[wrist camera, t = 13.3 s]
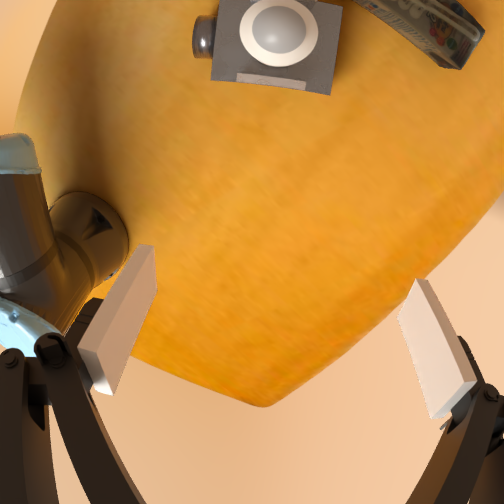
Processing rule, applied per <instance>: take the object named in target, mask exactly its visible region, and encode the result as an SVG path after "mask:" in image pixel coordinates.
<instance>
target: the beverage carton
mask: <svg viewBox="0 0 504 504" xmlns="http://www.w3.org/2000/svg"><path fill="white" fill-rule="evenodd" d="M353 1H354V2H356V3H358V4H359V5H361V6H362V7H364V8H365V9H367V10H368V11H370V12H371V13H373V14H374V15H375V16H377V17H378V18H380V19H381V20H383V21H384V22H385V23H387V24H388V25H389V26H391V27H392V28H393V29H395V30H396V31H397V32H399V33H400V34H401V35H403V36H404V37H405V38H406V39H408V40H409V41H410V42H411V43H413V44H414V45H415V46H416V47H418V48H419V49H420V50H421V51H423V52H424V53H425V54H426V55H428V56H429V57H430V58H431V59H432V60H433V61H434V62H436V63H437V64H438V65H439V66H440V67H443V68H448V69H458V70H461V69H462V68H463V66H464V65H465V63H466V62H467V60H468V59H469V57H470V55H471V53H472V52H473V50H474V49H475V47H476V46H477V44H478V42H479V41H480V40H481V38H482V37H483V35H484V33H485V30H484V29H483V28H482V26H481V25H480V24H479V23H478V22H477V21H476V20H475V19H474V17H473V16H472V15H471V14H469V13H468V12H467V10H466V9H465V8H464V7H463V6H462V5H461V4H460V3H459V2H458V1H456V0H353Z"/></svg>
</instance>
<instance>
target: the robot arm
mask: <svg viewBox="0 0 504 504" xmlns="http://www.w3.org/2000/svg"><path fill="white" fill-rule="evenodd" d="M41 172H42V170H41V168H40V167H39V164H38V160H37V156H36V152H35V147H34V143H33V141H32V139H31V138H30V137H29V136H28V135H26V134H23V133H13V134H6V135H1V136H0V344H1V345H3V346H4V347H5V348H7V349H6V350H5V351H3V352H2V353H1V355H0V504H59V500H58V495H57V489H56V483H55V476H54V469H53V462H52V452H51V441H50V427H49V408H48V407H49V406H48V405H52V407H53V411H54V414H55V417H56V420H57V423H58V426H59V429H60V432H61V435H62V438H63V440H64V443H65V446H66V449H67V451H68V454H69V456H70V459H71V461H72V464H73V466H74V468H75V471H76V473H77V476H78V478H79V480H80V482H81V485H82V487H83V489H84V491H85V493H86V495H87V497H88V499H89V501H90V503H91V504H146V502H145V501H144V499H143V498H142V496H141V494H140V493H139V491H138V489H137V487H136V486H135V484H134V483H133V481H132V479H131V477H130V476H129V474H128V472H127V470H126V468H125V466H124V464H123V462H122V461H121V459H120V457H119V455H118V453H117V451H116V449H115V447H114V445H113V443H112V441H111V439H110V437H109V435H108V433H107V430H106V428H105V426H104V424H103V421H102V419H101V417H100V415H99V412H98V410H97V408H96V405H95V403H94V400H93V398H92V395H91V393H90V389H91V387H92V385H94V387H95V389H96V391H98V392H101V393H105V394H109V395H113V396H114V393H115V391H116V388H117V386H118V383H119V381H120V378H121V376H122V373H123V370H124V368H125V365H126V363H127V360H128V358H129V356H130V353H131V351H132V348H133V346H134V343H135V341H136V339H137V336H138V334H139V331H140V329H141V327H142V324H143V322H144V320H145V317H146V315H147V313H148V311H149V308H150V306H151V304H152V301H153V299H154V297H155V295H156V293H157V281H156V269H155V255H154V246H151V245H143V244H139V245H138V247H137V248H136V250H135V251H134V253H133V254H132V256H131V257H130V259H129V260H128V262H127V263H126V265H125V267H124V268H123V270H122V271H121V273H120V274H119V276H118V278H117V279H116V281H115V283H114V284H113V286H112V287H111V289H110V291H109V292H108V294H107V296H106V297H105V299H99V298H94V297H93V298H92V299H91V300H89V301H88V302H87V303H85V304H84V306H83V307H82V309H81V311H80V312H79V315H77V313H78V311H79V310H80V308H81V306H82V305H83V303H84V302H85V300H86V298H87V297H88V295H89V294H90V292H91V291H92V289H93V288H95V287H96V286H98V285H99V284H101V283H102V282H103V281H105V280H107V279H109V278H111V277H112V276H113V275H115V274H116V273H117V271H118V270H119V269H120V267H121V266H122V264H123V263H124V261H125V259H126V257H127V253H128V237H127V233H126V229H125V227H124V225H123V223H122V221H121V219H120V217H119V216H118V214H117V213H116V212H115V211H114V209H113V208H112V207H111V206H110V205H109V204H107V203H106V202H105V201H104V200H102V199H101V198H99V197H97V196H95V195H93V194H90V193H86V192H71V193H68V194H66V195H64V196H62V197H61V198H60V199H59V200H57V201H56V202H55V203H54V204H53V205H52V206H51V207H50V209H49V210H48V206H47V202H46V197H45V193H44V188H43V183H42V178H41ZM76 315H77V317H76V319H75V322H73V323H72V321H73V320H74V318H75V316H76ZM397 319H398V322H399V325H400V327H401V330H402V333H403V336H404V338H405V341H406V344H407V347H408V350H409V352H410V355H411V358H412V361H413V364H414V367H415V370H416V373H417V376H418V380H419V383H420V386H421V389H422V392H423V396H424V399H425V403H426V406H427V409H428V413H429V417H430V419H435V418H443V417H444V416H445V415H446V414H447V413H448V412H449V411H450V410H451V413H452V417H451V418H450V419H449V420H447V421H446V422H445V423H444V424H443V425H442V426H441V428H440V430H442V429H443V428H444V427H445V426H446V427H445V430H444V432H443V434H442V436H441V439H440V441H439V443H438V445H437V447H436V449H435V451H434V453H433V455H432V458H431V459H430V461H429V463H428V465H427V467H426V469H425V471H424V473H423V475H422V477H421V479H420V480H419V482H418V484H417V485H416V487H415V489H414V491H413V492H412V494H411V496H410V498H409V499H408V501H407V502H406V504H467V503H468V501H469V504H504V439H503V433H504V396H502V395H500V394H499V392H498V390H497V389H496V388H495V387H494V386H493V385H491V384H488V383H487V384H486V383H485V381H484V379H483V376H482V374H481V372H480V370H479V367H478V365H477V363H476V361H475V360H474V357H473V354H472V353H471V350H470V348H469V346H468V344H467V343H466V341H465V340H464V339H463V338H462V337H461V336H457V335H456V333H455V331H454V329H453V327H452V325H451V323H450V321H449V319H448V317H447V315H446V313H445V311H444V309H443V307H442V305H441V304H440V302H439V300H438V298H437V296H436V294H435V292H434V291H433V289H432V287H431V285H430V284H429V282H428V280H424V279H415V281H414V283H413V286H412V288H411V290H410V292H409V294H408V296H407V298H406V300H405V302H404V305H403V307H402V309H401V310H400V313H399V314H398V316H397ZM71 323H72V325H71ZM70 325H71V327H70ZM69 327H70V328H69ZM68 328H69V330H68ZM67 330H68V332H67ZM66 332H67V333H66ZM65 333H66V335H65ZM64 335H65V337H64ZM469 498H470V500H469Z"/></svg>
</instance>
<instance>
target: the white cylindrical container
mask: <svg viewBox="0 0 504 504" xmlns="http://www.w3.org/2000/svg"><path fill="white" fill-rule="evenodd" d="M240 37H241V41H242V43H243V45H244V47H245V48H246V50H247V51H248V52H249V53H250V54H251V55H252V56H253V57H254V58H255V59H257V60H258V61H259V62H261V63H263V64H265V65H267V66H271V67H286V66H289V65H292V64H294V63H297V62H299V61H301V60H302V59H304V58H305V57H307V56H308V55H309V54H310V53H311V51H312V50H313V49H314V47H315V45H316V42H317V38H318V27H317V23H316V20H315V18H314V16H313V15H312V13H311V12H310V11H309V10H308V9H307V8H306V7H305V6H304V5H302V4H301V3H299V2H297V1H295V0H261V1H258V2H257V3H255V4H253V5H252V6H251V7H250V8H249V9H248V10H247V11H246V12H245V14H244V16H243V17H242V20H241V23H240Z"/></svg>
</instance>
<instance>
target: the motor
mask: <svg viewBox="0 0 504 504" xmlns="http://www.w3.org/2000/svg"><path fill="white" fill-rule="evenodd" d="M258 1H261V0H220V3H219V10H218V16H213V15H199V16H198V17H197V19H196V22H195V25H194V30H193V38H192V48H193V54H194V57H195V58H205V59H213V62H212V72H211V80H215V81H229V82H241V83H251V84H260V85H269V86H276V87H284V88H290V89H297V90H303V91H309V92H315V93H320V94H325V95H330V93H331V87H332V81H333V74H334V68H335V61H336V54H337V48H338V41H339V33H340V26H341V18H342V10H343V7H342V6H338V5H333V4H329V3H324V2H319V1H317V0H295V1H297V2H299V3H301V4H302V5H304V6H305V7H306V8H307V9H308V10H309V11H310V12H311V13H312V15H313V16H314V18H315V20H316V23H317V27H318V38H317V42H316V45H315V47H314V49H313V50H312V51H311V53H310V54H309V55H308V56H307V57H305V58H304V59H302V60H301V61H299V62H297V63H294V64H292V65H289V66H286V67H271V66H267V65H265V64H263V63H261V62H259V61H258V60H257V59H255V58H254V57H253V56H252V55H251V54H250V53H249V52H248V51H247V50H246V48H245V47H244V45H243V43H242V41H241V37H240V23H241V20H242V17H243V16H244V14H245V12H246V11H247V10H248V9H249V8H250V7H251V6H252V5H253V4H255V3H257V2H258Z"/></svg>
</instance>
